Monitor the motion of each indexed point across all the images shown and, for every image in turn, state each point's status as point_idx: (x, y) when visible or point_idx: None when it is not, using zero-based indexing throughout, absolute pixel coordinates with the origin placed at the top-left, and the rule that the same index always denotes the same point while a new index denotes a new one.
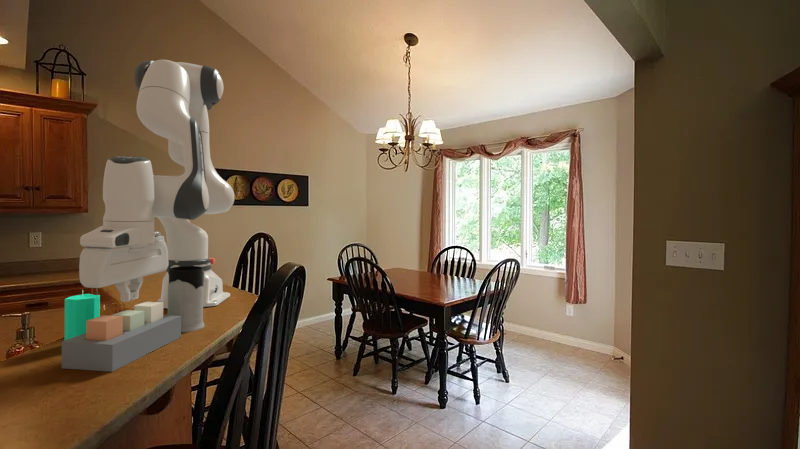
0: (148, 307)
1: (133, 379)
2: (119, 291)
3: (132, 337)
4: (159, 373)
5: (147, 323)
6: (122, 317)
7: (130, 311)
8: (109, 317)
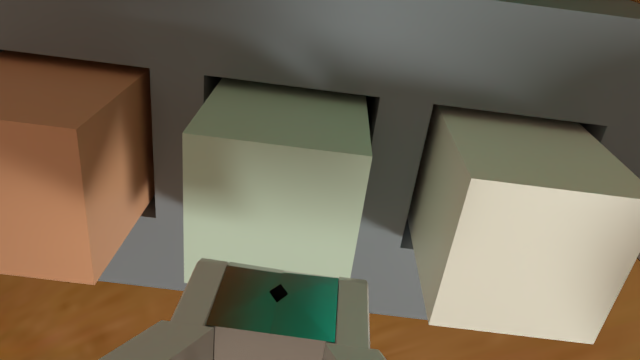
0: (431, 300)
1: (12, 293)
2: (139, 341)
3: (117, 277)
4: (83, 342)
5: (385, 232)
6: (97, 277)
7: (316, 216)
8: (30, 217)
